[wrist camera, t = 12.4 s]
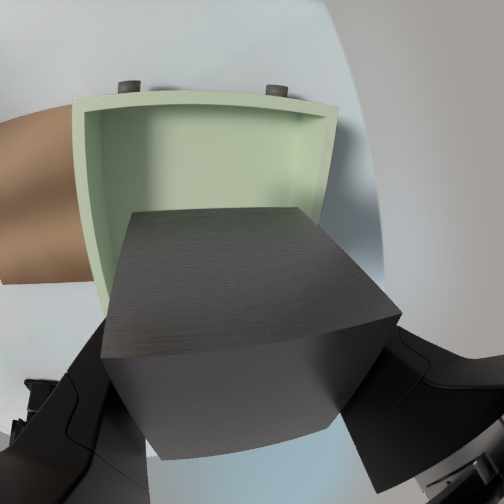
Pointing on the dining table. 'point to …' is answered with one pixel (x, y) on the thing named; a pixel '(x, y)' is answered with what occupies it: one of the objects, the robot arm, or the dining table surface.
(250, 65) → the dining table surface
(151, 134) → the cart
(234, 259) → the block
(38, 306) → the dining table surface
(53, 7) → the dining table surface
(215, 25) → the dining table surface
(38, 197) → the track
